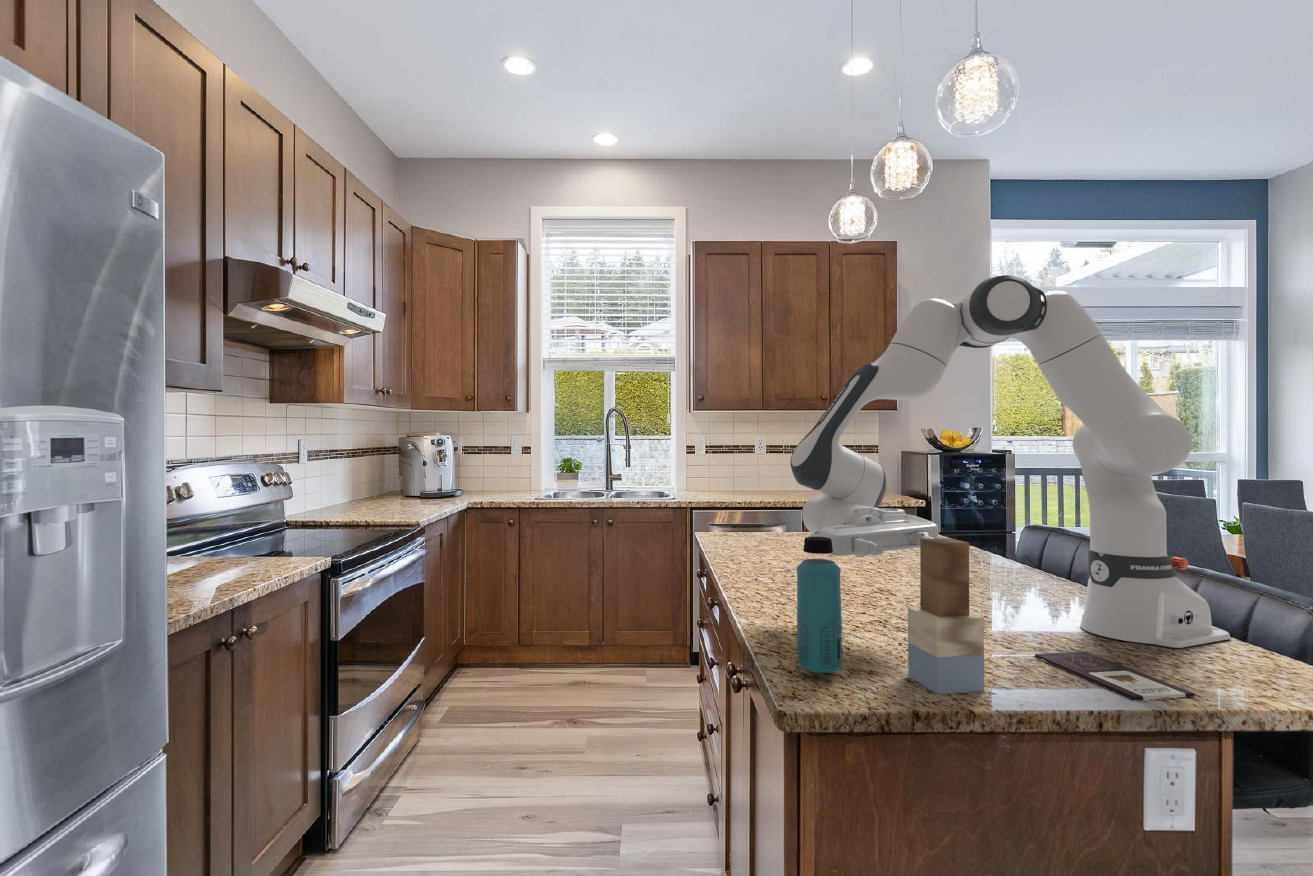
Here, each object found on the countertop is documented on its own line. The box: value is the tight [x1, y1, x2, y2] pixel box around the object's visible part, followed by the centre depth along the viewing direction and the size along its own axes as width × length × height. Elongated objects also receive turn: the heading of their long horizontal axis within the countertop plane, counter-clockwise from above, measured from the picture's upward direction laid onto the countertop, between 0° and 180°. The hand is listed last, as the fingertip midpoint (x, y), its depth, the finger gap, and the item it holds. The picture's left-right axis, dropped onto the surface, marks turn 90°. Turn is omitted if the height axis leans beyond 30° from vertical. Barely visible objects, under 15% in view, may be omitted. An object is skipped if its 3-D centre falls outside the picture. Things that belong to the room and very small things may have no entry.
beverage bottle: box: [795, 536, 844, 674], centre depth 96 cm, size 6×7×20 cm
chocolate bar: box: [1034, 651, 1195, 701], centre depth 96 cm, size 9×1×18 cm
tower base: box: [907, 641, 985, 695], centre depth 93 cm, size 7×7×5 cm
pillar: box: [919, 537, 970, 617], centre depth 92 cm, size 4×4×10 cm
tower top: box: [907, 606, 985, 657], centre depth 92 cm, size 7×7×5 cm
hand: (905, 547), depth 105 cm, fingers open, 8 cm apart
